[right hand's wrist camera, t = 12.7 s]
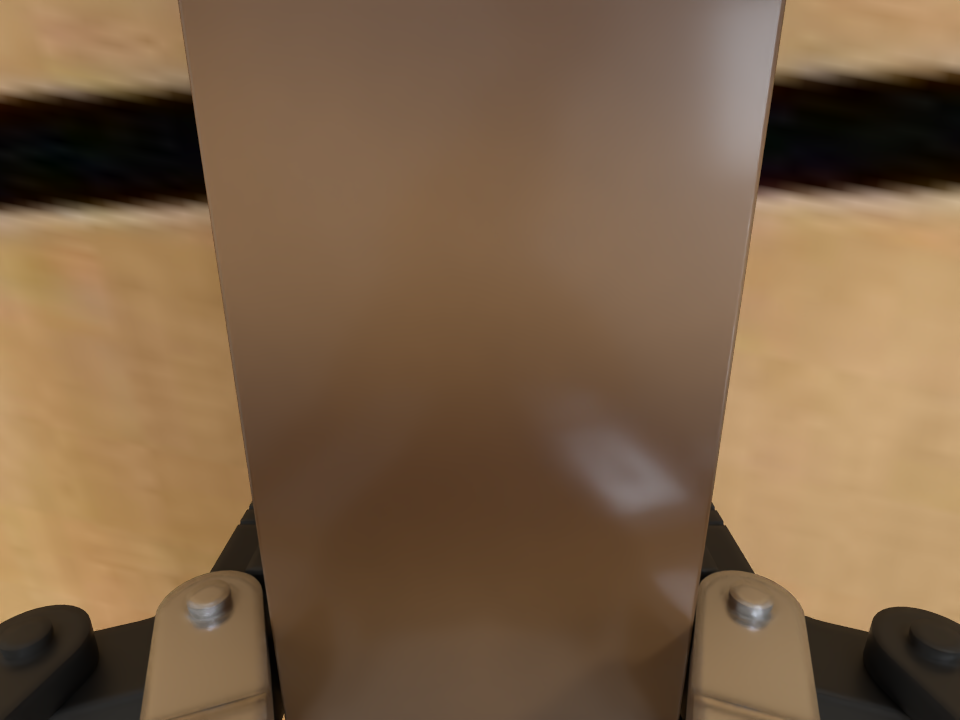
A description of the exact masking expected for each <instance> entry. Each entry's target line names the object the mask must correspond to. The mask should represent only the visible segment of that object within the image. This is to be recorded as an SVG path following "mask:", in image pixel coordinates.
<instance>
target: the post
mask: <svg viewBox="0 0 960 720" xmlns="http://www.w3.org/2000/svg"><path fill="white" fill-rule="evenodd" d="M178 4H179V11H180V18H181V24H182V31H183V38H184V45H185V51H186V58H187V65H188V71H189V78H190V85H191V92H192V98H193V105H194V112H195V118H196V125H197V132H198V138H199V145H200V152H201V159H202V165H203V172H204V179H205V185H206V192H207V199H208V206H209V212H210V219H211V226H212V232H213V239H214V246H215V252H216V259H217V266H218V273H219V279H220V286H221V293H222V299H223V306H224V313H225V319H226V326H227V333H228V340H229V346H230V353H231V360H232V366H233V373H234V380H235V387H236V393H237V400H238V407H239V413H240V420H241V427H242V433H243V440H244V447H245V454H246V460H247V467H248V474H249V480H250V487H251V494H252V500H253V507H254V514H255V521H256V527H257V534H258V541H259V547H260V554H261V561H262V568H263V574H264V581H265V588H266V594H267V601H268V608H269V614H270V621H271V628H272V635H273V641H274V648H275V655H276V661H277V668H278V675H279V682H280V688H281V695H282V702H283V708H284V715H285V720H679V716H680V710H681V703H682V696H683V690H684V683H685V676H686V669H687V663H688V656H689V649H690V642H691V636H692V629H693V622H694V616H695V609H696V602H697V595H698V589H699V582H700V575H701V569H702V562H703V555H704V548H705V542H706V535H707V528H708V521H709V515H710V508H711V501H712V495H713V488H714V481H715V474H716V468H717V461H718V454H719V448H720V441H721V434H722V427H723V421H724V414H725V407H726V401H727V394H728V387H729V380H730V374H731V367H732V360H733V353H734V347H735V340H736V333H737V327H738V320H739V313H740V306H741V300H742V293H743V286H744V280H745V273H746V266H747V259H748V253H749V246H750V239H751V232H752V226H753V219H754V212H755V206H756V199H757V192H758V185H759V179H760V172H761V165H762V159H763V152H764V145H765V138H766V132H767V125H768V118H769V112H770V105H771V98H772V91H773V85H774V78H775V71H776V64H777V58H778V51H779V44H780V38H781V31H782V24H783V17H784V11H785V4H786V0H178Z"/></svg>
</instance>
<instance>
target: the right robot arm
mask: <svg viewBox="0 0 960 720" xmlns="http://www.w3.org/2000/svg"><path fill="white" fill-rule="evenodd" d="M283 715H284V708H283V702H282V695H281V688H280V682H279V675H278V668H277V661H276V655H275V648H274V641H273V635H272V628H271V621H270V614H269V608H268V601H267V594H266V588H265V581H264V574H263V568H262V561H261V554H260V547H259V541H258V534H257V527H256V521H255V514H254V507H253V501H252V502H251V504H250V506H249V510H247V511H246V513H245V514H244V516H243V518H242V519H241V523H240V525H238V526H237V528H236V529H235V531H234V533H233V534H232V536H231V538H230V540H229V541H228V543H227V545H226V546H225V548H224V550H223V551H222V553H221V555H220V556H219V558H218V560H217V561H216V563H215V565H214V567H213V568H212V570H211V572H210V573H207V574H203V575H201V576H198V577H195V578H193V579H191V580H189V581H187V582H185V583H183V584H181V585H180V586H178V587H177V588H176V589H174V590H173V591H172V592H170V593H169V594H168V595H167V596H166V597H165V599H164V600H163V601H162V602H161V604H160V605H159V607H158V609H157V612H156V616H155V617H152V618H149V619H145V620H142V621H138V622H133V623H129V624H125V625H120V626H116V627H111V628H107V629H103V630H98V631H93V628H92V624H91V620H90V618H89V615H88V614H87V613H86V612H85V611H84V610H82V609H81V608H78V607H75V606H70V605H52V606H45V607H41V608H37V609H33V610H30V611H27V612H24V613H22V614H19V615H17V616H14V617H12V618H10V619H8V620H6V621H4V622H3V623H1V624H0V720H282V718H283ZM679 720H960V624H958V623H956V622H954V621H952V620H950V619H948V618H946V617H943V616H941V615H938V614H936V613H932V612H929V611H926V610H922V609H917V608H911V607H891V608H887V609H884V610H882V611H880V612H878V613H877V614H876V615H875V616H874V618H873V621H872V624H871V627H870V631H869V632H866V631H862V630H857V629H853V628H849V627H844V626H840V625H835V624H831V623H827V622H823V621H819V620H816V619H813V618H810V617H807V616H804V612H803V609H802V607H801V606H800V604H799V602H798V601H797V600H796V599H795V597H794V596H793V595H792V594H791V593H790V592H788V591H787V590H786V589H784V588H783V587H782V586H780V585H778V584H777V583H775V582H773V581H771V580H769V579H767V578H765V577H762V576H759V575H757V574H755V573H754V572H753V570H752V568H751V567H750V565H749V563H748V562H747V560H746V558H745V557H744V555H743V553H742V552H741V550H740V548H739V547H738V545H737V543H736V542H735V540H734V538H733V537H732V535H731V533H730V532H729V530H728V528H727V527H726V525H724V524H723V520H722V518H721V517H720V515H719V513H718V512H717V510H715V507H714V505H713V503H712V502H711V508H710V515H709V521H708V528H707V535H706V542H705V548H704V555H703V562H702V569H701V575H700V582H699V589H698V595H697V602H696V609H695V616H694V622H693V629H692V636H691V642H690V649H689V656H688V663H687V669H686V676H685V683H684V690H683V696H682V703H681V710H680V716H679Z"/></svg>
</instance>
